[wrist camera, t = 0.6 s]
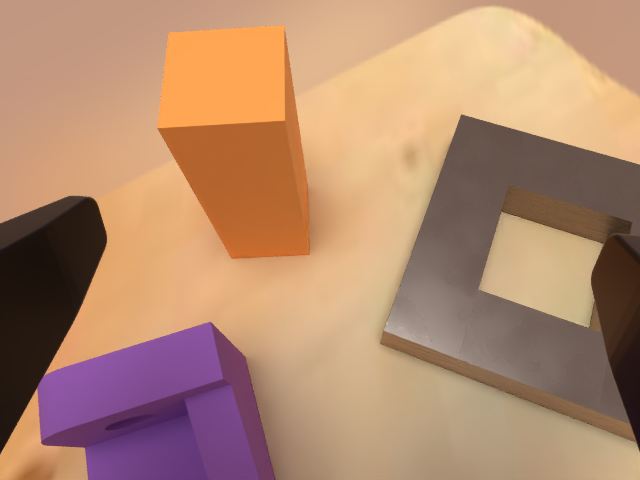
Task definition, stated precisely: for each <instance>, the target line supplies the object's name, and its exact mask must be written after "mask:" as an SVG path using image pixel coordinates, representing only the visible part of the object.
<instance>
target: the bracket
mask: <svg viewBox="0 0 640 480" xmlns="http://www.w3.org/2000/svg"><path fill="white" fill-rule="evenodd" d="M37 388H38V403H39V417H40V431H41V443H42V444H43V445H47V446H66V447H85V451H86V461H87V471H88V480H275V477H274V473H273V469H272V465H271V461H270V457H269V453H268V448H267V444H266V440H265V436H264V432H263V428H262V424H261V420H260V416H259V412H258V408H257V403H256V399H255V395H254V391H253V387H252V383H251V379H250V375H249V371H248V367H247V363H246V359H245V356H244V355H243V354H242V353H241V352H240V351H239V350H238V349H237V348H236V347H235V346H234V345H233V344H232V343H231V342H230V341H229V340H228V339H227V338H226V337H225V336H224V335H223V334H222V333H221V332H220V331H219V330H218V329H217V328H216V327H215V326H214V325H213V324H212V323H211V322H208V323H205V324H202V325H199V326H195V327H192V328H189V329H186V330H183V331H179V332H176V333H173V334H170V335H167V336H163V337H160V338H157V339H154V340H150V341H147V342H144V343H141V344H138V345H134V346H131V347H128V348H125V349H122V350H118V351H115V352H112V353H109V354H105V355H102V356H99V357H96V358H93V359H89V360H86V361H83V362H80V363H77V364H73V365H70V366H67V367H64V368H61V369H58V370H55V371H53V372H51V373H49V374H47V375H45V376H43V378H42V380H41V382H40V383H39V385H38V387H37Z"/></svg>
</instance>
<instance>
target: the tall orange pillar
mask: <svg viewBox="0 0 640 480" xmlns="http://www.w3.org/2000/svg"><path fill="white" fill-rule="evenodd" d="M167 44H168V45H167V52H166V60H165V68H164V77H163V86H162V94H161V102H160V111H159V119H158V127H157V128H158V130H159V132H160V134H161V135H162V137H163V139H164V141H165V142H166V144H167V146H168V148H169V149H170V151H171V153H172V155H173V156H174V158H175V160H176V162H177V163H178V165H179V167H180V169H181V170H182V172H183V174H184V176H185V177H186V179H187V181H188V183H189V184H190V186H191V188H192V190H193V191H194V193H195V195H196V197H197V198H198V200H199V202H200V204H201V205H202V207H203V209H204V211H205V212H206V214H207V216H208V218H209V219H210V221H211V223H212V225H213V226H214V228H215V230H216V232H217V233H218V235H219V237H220V239H221V240H222V242H223V244H224V246H225V247H226V249H227V251H228V253H229V254H230V256H231V258H250V257H270V256H290V255H309V219H308V186H307V179H306V172H305V165H304V158H303V151H302V144H301V137H300V130H299V124H298V117H297V110H296V103H295V96H294V89H293V83H292V75H291V68H290V62H289V55H288V48H287V41H286V34H285V27H284V25H281V26H265V27H250V28H236V29H220V30H204V31H189V32H174V33H169V35H168V43H167Z"/></svg>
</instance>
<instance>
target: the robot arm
mask: <svg viewBox="0 0 640 480" xmlns="http://www.w3.org/2000/svg"><path fill="white" fill-rule="evenodd" d="M106 244H107V234H106V230H105V227H104V224H103V220H102V217H101V214H100V210H99V207H98V204H97V202H96V201H95V200H94V199H93V198H91V197H83V196H68V197H65V198H63V199H61V200H58V201H56V202H53V203H50V204H48V205H46V206H43V207H40V208H38V209H36V210H33V211H31V212H28V213H25V214H23V215H20V216H18V217H15V218H13V219H10V220H8V221H5V222H3V223H0V454H1V452H2V450H3V448H4V447H5V445H6V443H7V441H8V439H9V438H10V436H11V434H12V432H13V430H14V429H15V427H16V425H17V423H18V421H19V420H20V418H21V416H22V414H23V412H24V411H25V409H26V407H27V405H28V403H29V402H30V400H31V398H32V396H33V394H34V393H35V391H36V389H37V387H38V385H39V383H40V382H41V380H42V378H43V376H44V374H45V373H46V371H47V369H48V367H49V365H50V364H51V362H52V360H53V358H54V356H55V355H56V353H57V351H58V349H59V347H60V346H61V344H62V342H63V340H64V338H65V337H66V335H67V333H68V331H69V329H70V328H71V326H72V324H73V322H74V320H75V318H76V316H77V314H78V312H79V310H80V308H81V305H82V303H83V301H84V299H85V296H86V294H87V291H88V289H89V286H90V284H91V282H92V279H93V277H94V274H95V272H96V269H97V267H98V265H99V262H100V260H101V257H102V255H103V253H104V250H105V247H106ZM591 285H592V290H593V295H594V299H595V304H596V308H597V313H598V318H599V322H600V327H601V331H602V336H603V341H604V345H605V350H606V354H607V358H608V362H609V365H610V368H611V371H612V374H613V377H614V380H615V383H616V385H617V388H618V391H619V394H620V397H621V400H622V402H623V405H624V408H625V411H626V414H627V417H628V420H629V422H630V425H631V428H632V431H633V434H634V437H635V439H636V442H637V445H638V448H639V451H640V236H639V235H633V234H618V233H615V234H612V235H610V236H609V237H608V238H607V239H606V241H605V243H604V246H603V248H602V250H601V252H600V255H599V257H598V259H597V262H596V264H595V266H594V269H593V271H592V276H591Z"/></svg>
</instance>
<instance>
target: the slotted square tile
mask: <svg viewBox="0 0 640 480" xmlns="http://www.w3.org/2000/svg"><path fill="white" fill-rule="evenodd" d="M501 211H503V212H506V213H509V214H513V215H516V216H519V217H522V218H525V219H528V220H532V221H535V222H538V223H541V224H544V225H547V226H551V227H554V228H557V229H560V230H563V231H567V232H570V233H573V234H576V235H579V236H582V237H586V238H589V239H592V240H595V241H598V242H601V243H605V241H606V239H607V238H608V237H609V236H610V235H612V234H615V233H618V234H633V235H639V236H640V165H639V164H635V163H632V162H628V161H625V160H621V159H618V158H614V157H610V156H607V155H603V154H600V153H596V152H593V151H589V150H586V149H582V148H578V147H575V146H571V145H568V144H564V143H561V142H557V141H554V140H550V139H547V138H543V137H539V136H536V135H532V134H529V133H525V132H522V131H518V130H515V129H511V128H507V127H504V126H500V125H497V124H493V123H490V122H486V121H483V120H479V119H475V118H472V117H468V116H465V115H461V117H460V120H459V122H458V125H457V128H456V131H455V134H454V136H453V139H452V142H451V145H450V148H449V150H448V153H447V156H446V159H445V161H444V164H443V167H442V170H441V173H440V175H439V178H438V181H437V184H436V187H435V189H434V192H433V195H432V198H431V201H430V203H429V206H428V209H427V212H426V215H425V217H424V220H423V223H422V226H421V228H420V231H419V234H418V237H417V240H416V242H415V245H414V248H413V251H412V254H411V256H410V259H409V262H408V265H407V268H406V270H405V273H404V276H403V279H402V282H401V284H400V287H399V290H398V293H397V295H396V298H395V301H394V304H393V307H392V309H391V312H390V315H389V318H388V321H387V323H386V326H385V329H384V332H383V336H382V339H381V344H383V345H386V346H388V347H391V348H393V349H396V350H399V351H401V352H404V353H406V354H409V355H412V356H414V357H417V358H419V359H422V360H425V361H427V362H430V363H432V364H435V365H438V366H440V367H443V368H445V369H448V370H451V371H453V372H456V373H458V374H461V375H464V376H466V377H469V378H471V379H474V380H477V381H479V382H482V383H484V384H487V385H490V386H492V387H495V388H497V389H500V390H503V391H505V392H508V393H510V394H513V395H516V396H518V397H521V398H523V399H526V400H529V401H531V402H534V403H536V404H539V405H542V406H544V407H547V408H549V409H552V410H555V411H557V412H560V413H562V414H565V415H568V416H570V417H573V418H575V419H578V420H581V421H583V422H586V423H588V424H591V425H594V426H596V427H599V428H601V429H604V430H607V431H609V432H612V433H614V434H617V435H620V436H622V437H625V438H627V439H630V440H633V441H635V442H636V439H635V437H634V434H633V431H632V428H631V425H630V422H629V420H628V417H627V414H626V411H625V408H624V405H623V402H622V400H621V397H620V394H619V391H618V388H617V385H616V383H615V380H614V377H613V374H612V371H611V368H610V365H609V362H608V358H607V354H606V350H605V345H604V341H603V336H602V331H601V327H600V322H599V318H598V313H597V308H596V304H595V303H594V308H593V313H592V318H591V323H590V328H587V327H584V326H581V325H578V324H575V323H572V322H569V321H567V320H564V319H561V318H558V317H555V316H552V315H549V314H546V313H544V312H541V311H538V310H535V309H532V308H529V307H526V306H524V305H521V304H518V303H515V302H512V301H509V300H506V299H503V298H501V297H498V296H495V295H492V294H489V293H486V292H483V291H481V290H478V288H479V284H480V281H481V278H482V274H483V271H484V268H485V264H486V261H487V257H488V254H489V251H490V247H491V244H492V240H493V237H494V234H495V230H496V227H497V223H498V220H499V217H500V213H501Z"/></svg>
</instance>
